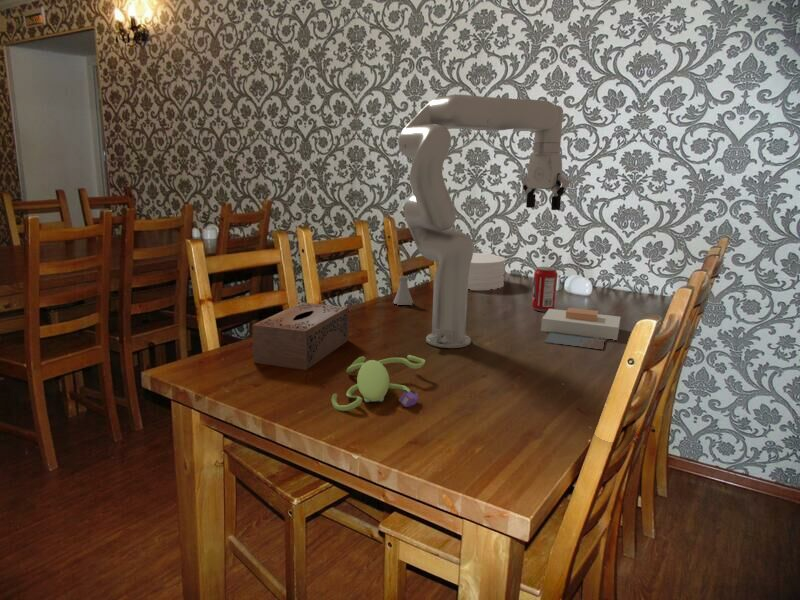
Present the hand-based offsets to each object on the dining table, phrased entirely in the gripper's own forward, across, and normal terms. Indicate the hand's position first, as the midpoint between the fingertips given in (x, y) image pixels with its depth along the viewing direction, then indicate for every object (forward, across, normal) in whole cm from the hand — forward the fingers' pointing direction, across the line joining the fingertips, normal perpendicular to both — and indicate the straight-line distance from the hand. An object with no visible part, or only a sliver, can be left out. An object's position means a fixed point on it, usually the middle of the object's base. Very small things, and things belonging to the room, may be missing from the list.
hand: (542, 208), depth 171 cm
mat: (+37, +17, -1) cm, 41 cm away
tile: (+33, +10, +10) cm, 36 cm away
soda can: (+37, -14, +20) cm, 44 cm away
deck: (+37, +10, +10) cm, 40 cm away
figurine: (+37, +17, -69) cm, 80 cm away
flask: (+37, -45, -18) cm, 61 cm away
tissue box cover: (+37, -16, -72) cm, 82 cm away
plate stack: (+38, -62, +29) cm, 78 cm away
